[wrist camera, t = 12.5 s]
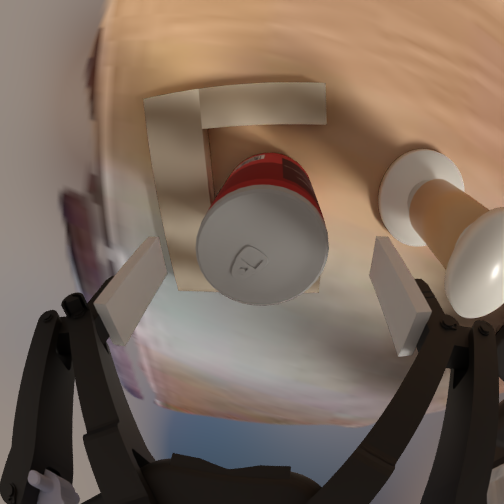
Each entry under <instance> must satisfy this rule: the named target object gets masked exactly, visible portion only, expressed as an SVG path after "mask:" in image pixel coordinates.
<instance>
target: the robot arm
mask: <svg viewBox="0 0 504 504" xmlns="http://www.w3.org/2000/svg"><path fill="white" fill-rule="evenodd" d="M167 274H168V273H167V269H166V265H165V261H164V257H163V253H162V249H161V244H160V240H159V237H148V238H147V239H146V240H145V241H144V242H143V243H142V244H141V246H140V247H139V248H138V249H137V250H136V251H135V252H134V254H133V255H132V256H131V257H130V258H129V259H128V261H127V262H126V263H125V264H124V265H123V267H122V268H121V269H120V270H119V271H118V273H117V274H116V275H115V276H112V277H110V278H109V279H108V280H106V281H105V282H104V283H103V285H102V286H101V288H99V290H98V291H97V292H96V293H95V295H94V296H93V297H92V298H91V300H90V301H89V302H88V303H87V302H86V300H85V298H84V296H83V294H82V293H73V294H71V295H69V296H67V297H66V298H65V299H64V300H63V301H62V304H61V306H62V308H63V309H64V312H65V313H66V315H67V316H66V317H59V315H58V313H57V312H56V311H55V310H50V311H46V312H45V313H44V314H42V315H41V317H40V318H39V320H38V323H37V326H36V329H35V332H34V335H33V338H32V342H31V345H30V349H29V352H28V356H27V360H26V363H25V367H24V371H23V376H22V380H21V385H20V390H19V395H18V401H17V406H16V412H15V419H14V427H13V436H12V447H11V450H10V453H9V455H8V458H7V461H6V464H5V468H4V471H3V474H2V478H1V481H0V494H1V496H2V498H3V500H4V501H5V502H6V503H7V504H78V503H79V501H80V498H79V495H78V494H77V493H76V492H75V490H74V488H73V486H72V482H73V452H72V451H73V449H72V415H73V394H74V381H75V380H76V386H77V391H78V396H79V400H80V405H81V410H82V414H83V418H84V422H85V425H86V430H87V434H85V435H83V441H84V445H85V449H86V452H87V455H88V459H89V462H90V465H91V468H92V471H93V473H94V476H95V479H96V482H97V484H98V487H99V489H100V492H101V493H100V494H98V495H96V496H94V497H92V498H91V499H89V500H87V501H85V502H83V503H81V504H369V503H370V502H371V501H372V500H373V499H374V497H375V496H376V494H377V493H378V492H379V491H380V490H381V488H382V487H383V486H384V484H385V483H386V481H387V480H388V479H389V477H390V476H391V474H392V473H393V471H394V469H395V464H396V462H397V461H398V459H399V457H400V456H401V454H402V453H403V451H404V450H405V448H406V446H407V445H408V443H409V441H410V440H411V438H412V436H413V435H414V433H415V431H416V429H417V427H418V426H419V424H420V422H421V420H422V418H423V416H424V415H425V413H426V411H427V409H428V407H429V405H430V403H431V400H432V398H433V396H434V394H435V392H436V390H437V387H438V385H439V383H440V381H441V378H442V376H443V373H444V371H445V369H446V368H450V369H451V372H450V382H449V390H448V398H447V404H446V410H445V417H444V421H443V427H442V431H441V436H440V440H439V444H438V448H437V452H436V456H435V460H434V463H433V467H432V470H431V473H430V476H429V480H428V483H427V486H426V488H425V491H424V494H423V497H422V500H421V503H420V504H504V400H503V401H501V402H500V403H499V377H500V378H501V379H502V380H503V381H504V326H503V327H502V328H501V329H500V331H499V332H498V333H497V334H496V336H495V331H494V329H493V327H492V326H491V325H490V324H489V323H487V322H485V321H481V320H479V321H476V322H475V323H474V324H473V326H472V328H468V327H462V326H459V324H458V322H457V321H456V319H455V318H453V317H452V316H449V315H446V314H444V312H443V310H442V308H441V306H440V305H439V303H438V301H437V299H436V298H435V296H434V294H433V292H432V291H431V289H430V287H429V286H428V284H426V283H425V282H424V281H423V280H422V279H414V278H413V276H412V275H411V273H410V271H409V269H408V268H407V266H406V264H405V263H404V261H403V260H402V258H401V256H400V255H399V253H398V252H397V250H396V248H395V247H394V245H393V244H392V242H391V241H390V239H389V238H388V237H381V236H376V241H375V247H374V253H373V258H372V264H371V269H370V274H369V276H370V279H371V281H372V284H373V286H374V289H375V291H376V294H377V297H378V299H379V302H380V305H381V307H382V310H383V313H384V316H385V319H386V321H387V324H388V327H389V330H390V333H391V336H392V339H393V342H394V345H395V349H396V352H397V355H398V357H401V356H410V355H412V354H413V352H414V350H415V348H416V347H417V350H418V352H419V353H418V355H417V357H416V359H415V361H414V363H413V365H412V367H411V368H410V370H409V372H408V374H407V375H406V377H405V379H404V381H403V382H402V384H401V386H400V387H399V389H398V391H397V392H396V394H395V395H394V397H393V399H392V400H391V402H390V403H389V405H388V406H387V408H386V409H385V411H384V412H383V414H382V415H381V417H380V418H379V419H378V421H377V422H376V424H375V425H374V427H373V428H372V429H371V431H370V432H369V433H368V435H367V436H366V437H365V439H364V440H363V441H362V442H361V444H360V445H359V446H358V448H357V449H356V450H355V451H354V452H353V454H352V455H351V456H350V457H349V458H348V460H347V461H346V462H345V463H344V464H343V465H342V467H341V468H340V469H339V470H338V471H337V472H336V473H335V474H334V476H332V478H331V479H330V480H329V481H328V482H327V483H326V484H325V485H324V486H323V487H321V486H319V485H318V484H317V483H316V482H315V481H313V480H311V479H310V478H308V477H306V476H304V475H301V474H298V473H294V472H290V470H291V467H290V466H262V465H260V466H253V467H246V468H238V469H226V468H223V467H220V466H218V465H215V464H212V463H210V462H207V461H205V460H202V459H200V458H195V457H190V456H184V455H180V454H175V453H173V454H172V458H171V459H163V460H158V461H155V459H154V458H153V456H152V455H151V453H150V452H149V451H148V449H147V447H146V445H145V443H144V440H143V438H142V436H141V434H140V432H139V430H138V427H137V425H136V422H135V420H134V418H133V415H132V413H131V410H130V408H129V405H128V403H127V400H126V398H125V395H124V392H123V389H122V386H121V383H120V381H119V378H118V375H117V372H116V369H115V365H114V362H113V359H112V356H111V352H110V349H109V346H108V344H107V342H106V341H107V339H108V338H109V337H110V338H111V340H112V342H113V344H115V345H120V346H126V344H127V343H128V341H129V339H130V337H131V335H132V333H133V332H134V330H135V328H136V326H137V325H138V323H139V321H140V319H141V318H142V316H143V314H144V312H145V311H146V309H147V307H148V305H149V304H150V302H151V300H152V299H153V297H154V295H155V293H156V292H157V290H158V288H159V287H160V285H161V283H162V282H163V280H164V278H165V277H166V275H167Z"/></svg>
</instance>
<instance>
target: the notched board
mask: <svg viewBox="0 0 504 504" xmlns="http://www.w3.org/2000/svg"><path fill="white" fill-rule="evenodd" d="M143 101H144V110H145V119H146V127H147V135H148V142H149V149H150V156H151V162H152V169H153V175H154V181H155V186H156V192H157V197H158V203H159V208H160V213H161V218H162V223H163V227H164V232H165V237H166V241H167V246H168V250H169V254H170V259H171V263H172V267H173V271H174V275H175V279H176V283H177V287H178V291H204V292H219V291H217V290H216V289H215V288H213V286H212V285H211V284H210V283H209V282H208V281H207V280H206V278H205V277H204V275H203V273H202V272H201V270H200V267H199V264H198V261H197V257H196V249H195V248H196V238H197V234H198V231H199V228H200V225H201V222H202V220H203V218H204V217H205V215H206V213H207V211H208V209H209V208H210V206H211V204H212V203H213V201H214V200H215V195H214V186H213V177H212V168H211V158H210V148H209V138H208V128H218V127H231V126H246V125H270V124H318V125H327V116H326V83H313V82H271V83H250V84H236V85H225V86H216V87H208V88H200V89H193V90H187V91H181V92H175V93H170V94H164V95H159V96H155V97H150V98H145V99H143ZM319 283H320V276H319V278H318V279H317V281H316V282H315V283H314V284H313V285H312V286H311V287H310V288H309V289H308V290H306V291H305V292H303V293H319Z"/></svg>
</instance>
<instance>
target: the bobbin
mask: <svg viewBox="0 0 504 504" xmlns="http://www.w3.org/2000/svg"><path fill="white" fill-rule="evenodd" d="M378 208H379V213H380V216H381V219H382V221H383V223H384V225H385V226H386V228H387V229H388V231H389V232H390V234H391V235H392V236H393V237H394V238H395V239H397V240H398V241H400V242H401V243H403V244H406V245H410V246H426V245H427V246H428V247H429V248H430V250H431V251H432V252H433V253H434V255H435V256H436V257H437V259H438V260H439V261H440V263H441V264H442V265H443V267H444V268H445V269H446V273H445V282H444V286H445V293H446V296H447V298H448V300H449V302H450V303H451V305H452V307H453V308H454V310H455V311H456V313H458V314H459V315H460V316H462V317H465V318H478V317H481V316H484V315H487V314H489V313H491V312H492V311H494V310H496V309H497V308H498V307H500V306H501V305H502V304H503V303H504V207H500V208H495V209H492V210H488V209H487V208H486V207H484V206H483V205H482V204H480V203H479V202H478V201H476V200H475V199H473V198H472V197H470V196H469V195H468V194H466V193H465V192H464V184H463V179H462V176H461V174H460V172H459V170H458V168H457V167H456V165H455V164H454V163H453V162H452V161H451V160H450V159H449V158H448V157H446V156H445V155H443V154H441V153H439V152H436V151H434V150H430V149H416V150H412V151H409V152H407V153H405V154H403V155H402V156H400V157H399V158H398V159H396V160H395V161H394V162H393V163H392V164H391V166H390V167H389V168H388V170H387V171H386V173H385V175H384V177H383V179H382V181H381V185H380V188H379V194H378Z"/></svg>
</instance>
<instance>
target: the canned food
mask: <svg viewBox="0 0 504 504" xmlns="http://www.w3.org/2000/svg"><path fill="white" fill-rule="evenodd" d="M195 249H196V257H197V261H198V264H199V267H200V270H201V272H202V273H203V275H204V277H205V278H206V280H207V281H208V282H209V283H210V284H211V285H212V286H213V288H215V289H216V290H217V291H219V292H220V293H221V294H223V295H224V296H226V297H228V298H230V299H232V300H235V301H238V302H241V303H244V304H250V305H263V306H266V305H274V304H279V303H283V302H286V301H289V300H291V299H293V298H295V297H297V296H299V295H301V294H302V293H303V292H305V291H306V290H308V289H309V288H310V287H311V286H312V285H313V284H314V283H315V282H316V281H317V279H318V278H319V276H320V275H321V273H322V271H323V269H324V267H325V264H326V261H327V257H328V250H329V245H328V232H327V229H326V226H325V221H324V218H323V215H322V212H321V210H320V207H319V204H318V201H317V198H316V196H315V193H314V190H313V188H312V185H311V182H310V180H309V177H308V175H307V173H306V172H305V170H304V169H303V168H302V167H301V166H300V165H299V163H297V162H296V161H294V160H293V159H291V158H290V157H287V156H285V155H282V154H277V153H262V154H258V155H254V156H252V157H250V158H247V159H246V160H244V161H243V162H242V163H240V164H239V165H238V166H237V167H236V168H235V169H234V171H233V172H232V174H231V175H230V177H229V178H228V180H227V181H226V183H225V184H224V186H223V187H222V189H221V190H220V192H219V193H218V195H217V196H216V198H215V200H214V201H213V203H212V204H211V206H210V208H209V209H208V211H207V213H206V215H205V217H204V218H203V220H202V222H201V225H200V228H199V231H198V234H197V238H196V248H195Z"/></svg>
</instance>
